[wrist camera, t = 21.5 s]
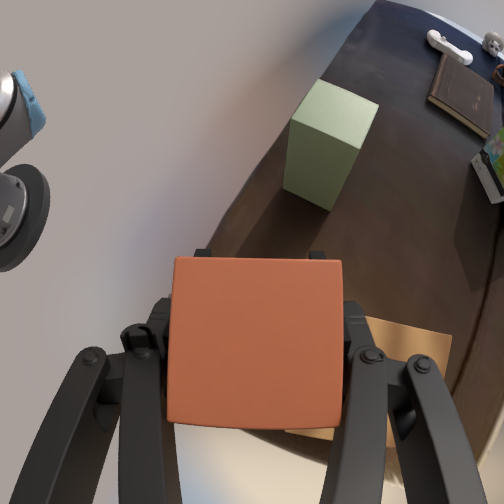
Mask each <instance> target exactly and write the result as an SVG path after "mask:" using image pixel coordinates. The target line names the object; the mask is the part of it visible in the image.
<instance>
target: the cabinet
mask: <svg viewBox="0 0 504 504" xmlns="http://www.w3.org/2000/svg"><path fill="white" fill-rule="evenodd" d="M365 318H366V320H367V322H368V323H367V324H368V325H369V328H370V331H371V333H372V336H373V339H374V342H375V344H376V347H378V348H380V349H381V350H382V351H383V352H384V353H385V354H386V357H388V358H390V359H393V360H398V361H404V362H407V361H408V358H410V357H411V356H412V355H415V354H424V355H426V356H429V357H430V358H432V359H433V360H434V361H435V362H436V364H437V366H438V368H439V370H440V372H441V375H442V377H443V379H444V376H445V371H446V367H447V362H448V357H449V352H450V346H451V341H452V336H451V335H446V334H442V333H437V332H433V331H428V330H424V329H419V328H415V327H410V326H406V325H402V324H397V323H393V322H389V321H384V320H380V319H376V318H372V317H368V316H365ZM285 432H289V433H293V434H298V435H303V436H308V437H314V438H320V439H325V440H333V434H334V428H323V429H300V430H285ZM386 447H392V448H396V445H395V441H394V437H393V433H392V429H391V425H390V421H389V417H388V413H387V441H386Z"/></svg>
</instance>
